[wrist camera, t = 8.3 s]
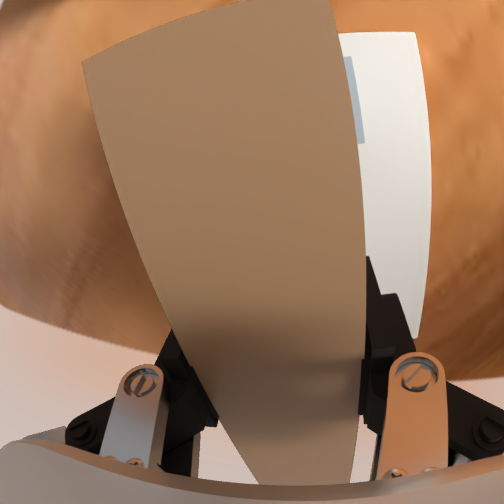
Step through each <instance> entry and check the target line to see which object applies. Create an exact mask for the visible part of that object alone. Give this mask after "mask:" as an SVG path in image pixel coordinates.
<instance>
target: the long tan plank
mask: <svg viewBox="0 0 504 504" xmlns="http://www.w3.org/2000/svg"><path fill="white" fill-rule="evenodd" d="M82 67H83V72H84V76H85V81H86V85H87V89H88V94H89V98H90V102H91V106H92V110H93V114H94V118H95V121H96V125H97V129H98V132H99V136H100V139H101V143H102V146H103V150H104V153H105V156H106V160H107V163H108V166H109V169H110V173H111V176H112V179H113V182H114V185H115V188H116V191H117V194H118V197H119V200H120V203H121V205H122V208H123V211H124V214H125V217H126V219H127V222H128V225H129V228H130V230H131V233H132V236H133V238H134V241H135V244H136V246H137V249H138V251H139V254H140V256H141V259H142V261H143V264H144V266H145V269H146V271H147V274H148V276H149V278H150V281H151V283H152V285H153V288H154V290H155V292H156V295H157V297H158V299H159V302H160V304H161V306H162V308H163V310H164V313H165V315H166V317H167V319H168V321H169V324H170V326H171V328H172V330H173V332H174V334H175V336H176V338H177V340H178V343H179V345H180V347H181V349H182V351H183V353H184V355H185V357H186V359H187V361H188V363H189V365H190V366H193V368H194V370H195V372H196V374H197V376H198V378H199V380H200V382H201V384H202V386H203V387H204V389H205V391H206V393H207V395H208V397H209V399H210V400H211V402H212V404H213V406H214V408H215V410H216V411H217V413H218V415H219V417H220V418H219V420H220V422H221V424H222V425H223V427H224V429H225V430H226V432H227V434H228V435H229V437H230V439H231V441H232V442H233V444H234V446H235V447H236V449H237V450H238V452H239V454H240V455H241V457H242V458H243V460H244V461H245V463H246V465H247V466H248V468H249V469H250V471H251V472H252V474H253V476H254V477H255V478H256V480H257V481H258V483H259V485H282V486H309V485H334V484H348V483H350V478H351V472H352V466H353V460H354V452H355V446H356V439H357V432H358V423H359V415H360V414H357V413H358V403H359V391H360V377H361V360H362V359H364V355H365V333H366V246H365V224H364V208H363V194H362V182H361V172H360V162H359V153H358V144H357V137H356V129H355V122H354V115H353V108H352V102H351V96H350V90H349V85H348V79H347V74H346V69H345V63H344V59H343V54H342V49H341V45H340V40H339V36H338V31H337V27H336V23H335V19H334V15H333V11H332V7H331V4H330V0H245V1H241V2H236V3H232V4H228V5H224V6H220V7H217V8H213V9H209V10H206V11H202V12H199V13H196V14H193V15H189V16H186V17H183V18H180V19H177V20H175V21H172V22H169V23H166V24H163V25H161V26H158V27H155V28H153V29H150V30H148V31H145V32H143V33H141V34H138V35H136V36H134V37H131V38H129V39H127V40H124V41H122V42H120V43H118V44H116V45H114V46H112V47H110V48H107V49H105V50H103V51H101V52H99V53H98V54H96V55H94V56H92V57H90V58H88V59H86V60H84V61H82Z"/></svg>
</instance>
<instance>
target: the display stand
mask: <svg viewBox="0 0 504 504" xmlns="http://www.w3.org/2000/svg"><path fill="white" fill-rule="evenodd" d="M338 36H339V40H340V45H341V49H342V54H343V59H344V63H345V69H346V74H347V79H348V85H349V90H350V96H351V102H352V108H353V115H354V122H355V129H356V137H357V144H358V153H359V162H360V172H361V182H362V194H363V208H364V224H365V246H366V256H369V257H370V260H371V264H372V267H373V270H374V273H375V276H376V279H377V282H378V286H379V289H380V292H381V295H382V294H390V293H397V295H398V297H399V300H400V303H401V306H402V309H403V311H404V314H405V317H406V320H407V323H408V326H409V330H410V333H411V336H412V339H414V338H417V337H418V332H419V326H420V321H421V314H422V308H423V301H424V294H425V286H426V277H427V268H428V257H429V244H430V227H431V151H430V135H429V122H428V112H427V102H426V94H425V87H424V80H423V73H422V67H421V61H420V56H419V51H418V46H417V41H416V36H415V32H359V33H343V34H338Z"/></svg>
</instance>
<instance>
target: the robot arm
mask: <svg viewBox="0 0 504 504" xmlns="http://www.w3.org/2000/svg"><path fill="white" fill-rule="evenodd" d="M357 414H360V415H363V418H364V424H367V428H369V429H370V430H372V431H373V432H375V433H376V434H377V437H376V444H375V451H374V457H373V463H372V469H371V475H370V480H369V481H368V482H359V483H348V484H334V485H309V486H282V485H257V484H242V483H231V482H222V481H214V480H206V479H199V478H198V468H199V467H198V466H199V451H200V432H201V431H203V430H204V427H205V426H207V427H217V423H218V420H219V418H220V417H219V415H218V413H217V411H216V410H215V408H214V406H213V404H212V402H211V400H210V399H209V397H208V395H207V393H206V391H205V389H204V387H203V386H202V384H201V382H200V380H199V378H198V376H197V374H196V372H195V370H194V368H193V366H190V365H189V363H188V361H187V359H186V357H185V355H184V353H183V351H182V349H181V347H180V345H179V343H178V340H177V338H176V336H175V334H174V332H173V330H172V329H171V331H170V333H169V335H168V337H167V339H166V341H165V343H164V345H163V347H162V350H161V352H160V354H159V356H158V358H157V360H156V362H155V364H154V365H151V364H144V365H139V366H137V367H135V368H133V369H131V370H130V371H128V372H127V373H126V374H125V375H124V377H123V378H122V380H121V382H120V384H119V387H118V391H117V394H116V397H114V398H112V399H110V400H108V401H106V402H105V403H103V404H101V405H99V406H97V407H95V408H93V409H91V410H89V411H87V412H85V413H83V414H81V415H80V416H78V417H76V418H75V419H73V420H72V421H71V422H70V423H69V425H68V427H67V428H66V427H65V426H62V427H59V428H55V429H52V430H48V431H44V432H41V433H37V434H33V435H29V436H26V437H24V438H23V439H21V440H16V441H12V442H10V443H8V444H6V445H5V446H3V447H2V448H1V449H0V504H504V410H503V409H500V408H499V407H497V406H495V405H493V404H491V403H488V402H487V401H485V400H483V399H480V398H479V397H476V396H475V395H473V394H471V393H469V392H467V391H465V390H463V389H461V388H459V387H457V386H455V385H453V384H451V383H449V382H447V381H446V380H445V372H444V368H443V365H442V364H441V363H440V361H439V360H438V359H436V358H435V357H434V356H432V355H430V354H427V353H423V352H416V349H415V346H414V342H413V339H412V336H411V333H410V330H409V326H408V323H407V320H406V317H405V314H404V311H403V309H402V306H401V303H400V300H399V297H398V295H397V293H390V294H382V295H381V292H380V289H379V286H378V282H377V279H376V276H375V273H374V270H373V267H372V264H371V260H370V257H369V256H366V333H365V355H364V359H362V360H361V377H360V391H359V403H358V413H357Z"/></svg>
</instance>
